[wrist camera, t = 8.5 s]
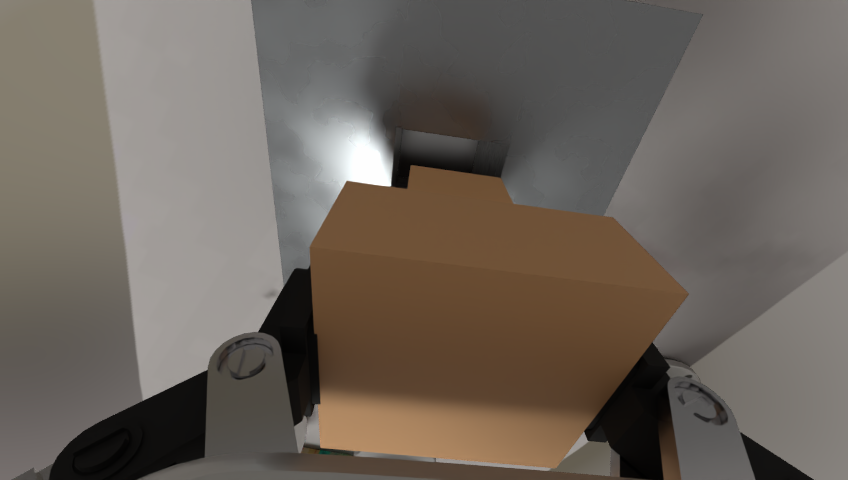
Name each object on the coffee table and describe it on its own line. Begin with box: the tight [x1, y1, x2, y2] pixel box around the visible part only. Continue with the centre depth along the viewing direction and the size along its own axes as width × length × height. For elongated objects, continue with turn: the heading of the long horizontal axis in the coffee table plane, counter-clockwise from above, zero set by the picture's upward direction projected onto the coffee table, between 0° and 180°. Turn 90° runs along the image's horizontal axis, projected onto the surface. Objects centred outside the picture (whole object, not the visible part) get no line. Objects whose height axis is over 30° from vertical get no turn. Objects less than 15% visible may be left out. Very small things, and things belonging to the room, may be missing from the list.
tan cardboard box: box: [309, 165, 689, 468], centre depth 12 cm, size 7×7×9 cm
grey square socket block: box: [251, 0, 703, 286], centre depth 21 cm, size 18×18×8 cm
